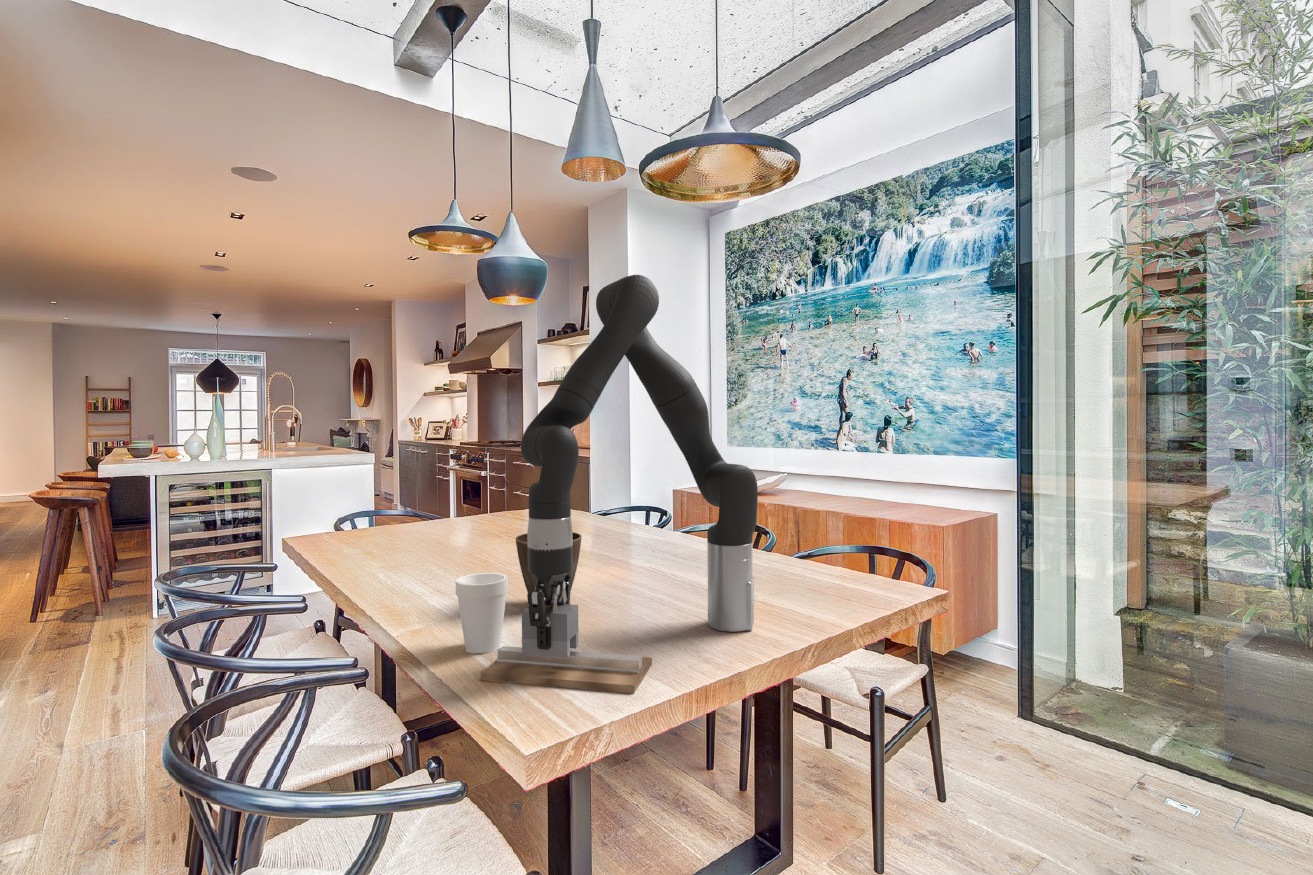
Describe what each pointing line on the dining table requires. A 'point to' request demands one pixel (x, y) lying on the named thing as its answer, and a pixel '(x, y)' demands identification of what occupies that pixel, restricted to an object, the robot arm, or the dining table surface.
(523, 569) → the plant pot
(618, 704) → the dining table surface
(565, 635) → the block
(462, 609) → the foam cup
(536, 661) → the rail
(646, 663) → the board
